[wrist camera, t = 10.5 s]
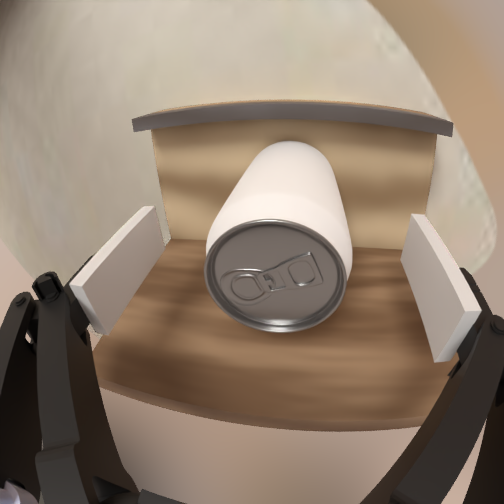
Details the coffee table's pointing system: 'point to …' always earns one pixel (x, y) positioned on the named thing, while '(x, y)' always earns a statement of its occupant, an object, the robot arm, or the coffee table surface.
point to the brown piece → (295, 343)
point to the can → (280, 243)
